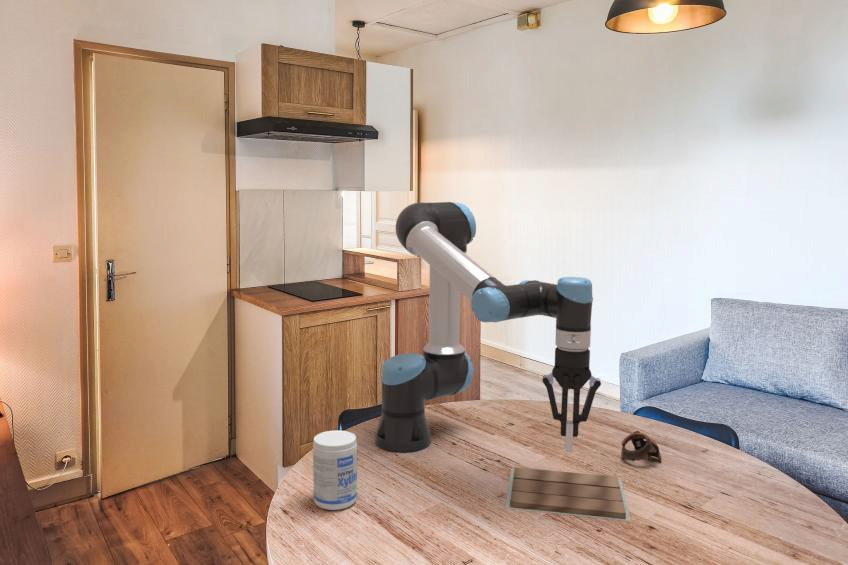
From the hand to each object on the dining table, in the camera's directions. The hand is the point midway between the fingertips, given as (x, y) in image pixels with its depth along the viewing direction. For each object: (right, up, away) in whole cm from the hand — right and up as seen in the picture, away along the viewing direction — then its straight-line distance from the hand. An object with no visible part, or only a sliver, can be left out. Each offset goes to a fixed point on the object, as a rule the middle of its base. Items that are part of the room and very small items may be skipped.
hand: (568, 449), depth 145 cm
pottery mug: (+23, -8, +20) cm, 32 cm away
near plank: (-1, -10, 0) cm, 10 cm away
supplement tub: (-52, -11, -3) cm, 53 cm away
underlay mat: (0, -10, +1) cm, 11 cm away
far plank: (+1, -9, +6) cm, 11 cm away
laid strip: (-2, -11, -6) cm, 13 cm away
